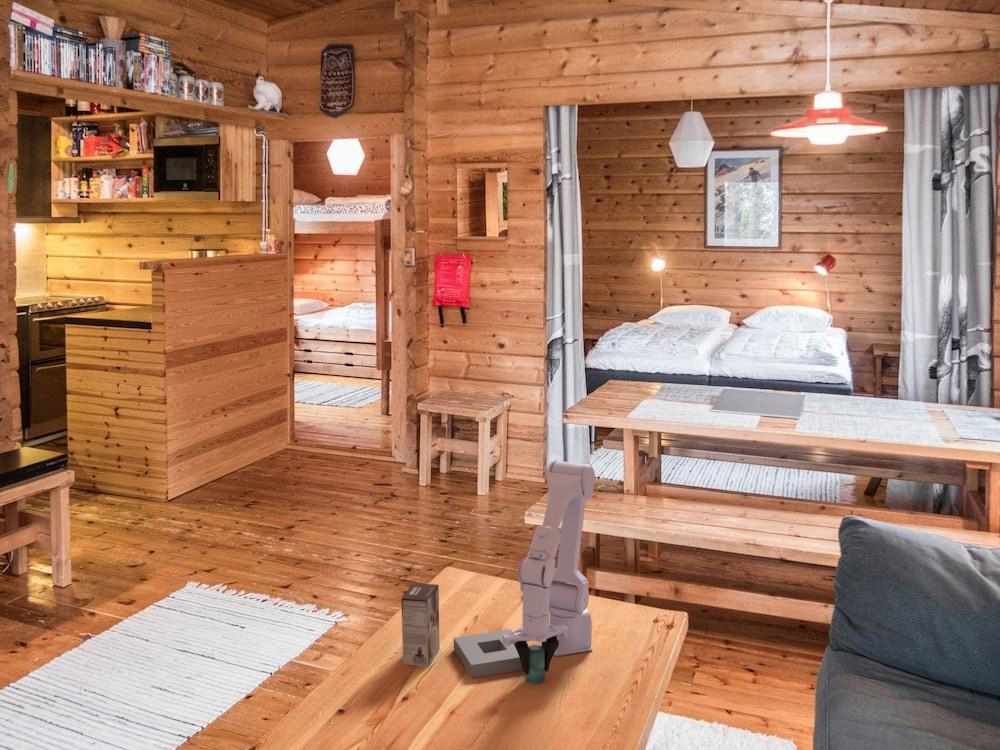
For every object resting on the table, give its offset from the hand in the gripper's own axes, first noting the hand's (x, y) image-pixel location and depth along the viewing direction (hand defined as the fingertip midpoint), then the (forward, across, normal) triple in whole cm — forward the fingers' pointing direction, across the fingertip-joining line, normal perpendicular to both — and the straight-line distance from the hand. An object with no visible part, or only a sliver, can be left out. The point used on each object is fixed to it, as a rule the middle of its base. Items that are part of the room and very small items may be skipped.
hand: (535, 670), depth 199 cm
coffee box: (+2, -21, +18) cm, 28 cm away
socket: (+2, -6, +12) cm, 14 cm away
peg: (+2, 0, 0) cm, 2 cm away
